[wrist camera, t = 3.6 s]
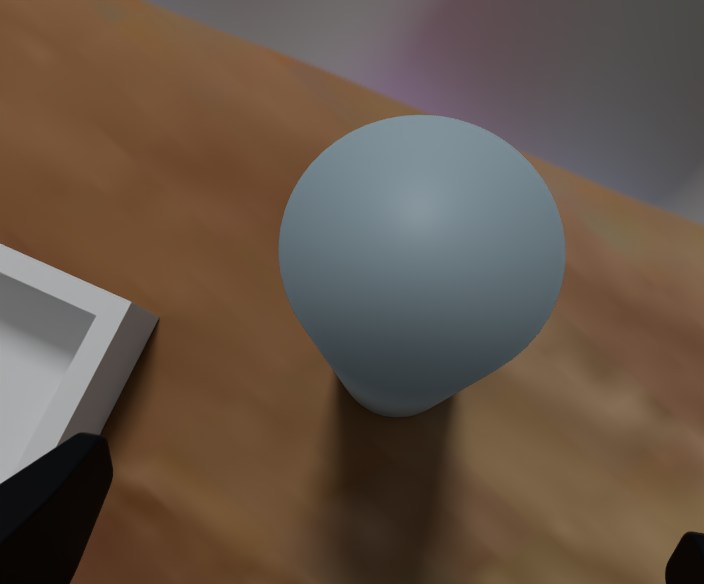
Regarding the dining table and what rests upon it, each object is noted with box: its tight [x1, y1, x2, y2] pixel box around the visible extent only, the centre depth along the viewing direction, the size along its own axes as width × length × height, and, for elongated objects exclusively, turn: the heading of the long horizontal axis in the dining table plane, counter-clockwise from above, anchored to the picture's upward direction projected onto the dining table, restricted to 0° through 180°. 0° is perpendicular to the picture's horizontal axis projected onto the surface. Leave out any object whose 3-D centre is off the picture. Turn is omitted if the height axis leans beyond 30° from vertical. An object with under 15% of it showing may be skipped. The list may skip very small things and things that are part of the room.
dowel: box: [279, 115, 565, 418], centre depth 15 cm, size 4×4×12 cm
